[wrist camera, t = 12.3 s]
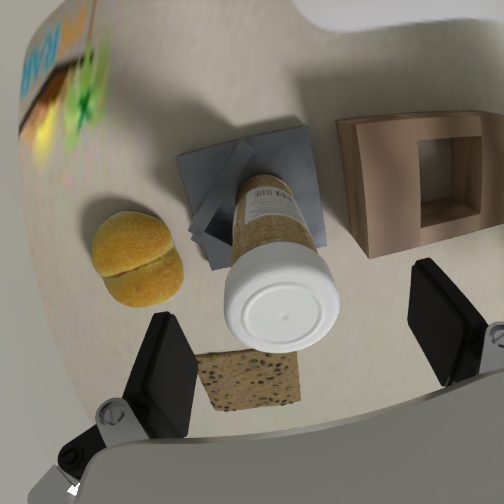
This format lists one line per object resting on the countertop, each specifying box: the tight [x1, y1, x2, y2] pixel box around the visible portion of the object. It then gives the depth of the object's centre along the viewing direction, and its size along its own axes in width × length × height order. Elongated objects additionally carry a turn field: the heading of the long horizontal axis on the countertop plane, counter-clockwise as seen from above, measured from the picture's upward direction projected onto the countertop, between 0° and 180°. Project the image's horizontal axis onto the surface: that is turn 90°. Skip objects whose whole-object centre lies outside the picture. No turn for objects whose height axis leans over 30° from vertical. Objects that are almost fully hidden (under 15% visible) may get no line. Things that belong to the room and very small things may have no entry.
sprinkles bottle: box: [224, 175, 340, 353], centre depth 17 cm, size 5×5×14 cm
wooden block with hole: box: [336, 111, 504, 259], centre depth 21 cm, size 16×10×4 cm, turn 103°
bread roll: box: [92, 211, 184, 308], centre depth 24 cm, size 8×9×4 cm
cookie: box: [195, 349, 301, 412], centre depth 34 cm, size 12×12×1 cm
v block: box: [175, 126, 327, 271], centre depth 22 cm, size 10×11×4 cm
